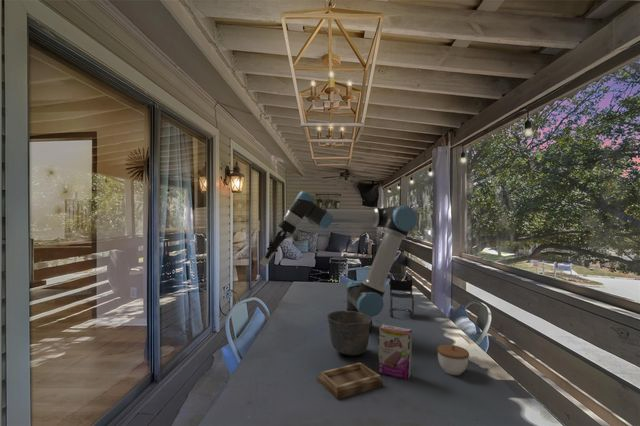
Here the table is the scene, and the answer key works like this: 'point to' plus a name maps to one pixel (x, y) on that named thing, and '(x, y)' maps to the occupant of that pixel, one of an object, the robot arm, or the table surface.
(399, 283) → the chair
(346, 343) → the dark grey pot
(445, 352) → the lidded jar
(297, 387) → the table surface
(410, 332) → the candy bar box
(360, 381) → the wooden tray
